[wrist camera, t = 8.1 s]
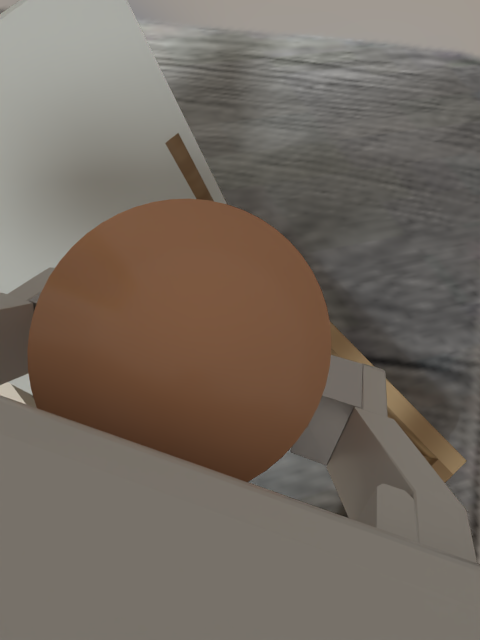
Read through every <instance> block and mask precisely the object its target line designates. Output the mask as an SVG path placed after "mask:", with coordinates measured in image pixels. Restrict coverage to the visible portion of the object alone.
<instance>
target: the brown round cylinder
mask: <svg viewBox="0 0 480 640" xmlns="http://www.w3.org/2000/svg"><path fill="white" fill-rule="evenodd" d="M27 355H28V373H29V379H30V386H31V391H32V394H33V397H34V400H35V404H36V407H37V408H38V409H41V410H44V411H46V412H49V413H52V414H55V415H58V416H61V417H64V418H66V419H69V420H72V421H75V422H78V423H81V424H83V425H86V426H89V427H92V428H95V429H98V430H101V431H103V432H106V433H109V434H112V435H115V436H118V437H120V438H123V439H126V440H129V441H132V442H135V443H138V444H140V445H143V446H146V447H149V448H152V449H155V450H158V451H160V452H163V453H166V454H169V455H172V456H175V457H177V458H180V459H183V460H186V461H189V462H191V463H194V464H197V465H200V466H203V467H206V468H208V469H211V470H214V471H217V472H220V473H223V474H225V475H228V476H231V477H234V478H237V479H239V480H242V481H245V482H248V481H250V480H252V479H253V478H255V477H256V476H258V475H260V474H261V473H263V472H264V471H266V470H267V469H268V468H270V467H271V466H272V465H273V464H274V463H276V462H277V461H278V460H279V459H280V458H282V457H283V456H284V454H285V453H286V452H287V451H288V450H289V449H290V448H291V447H292V446H293V445H294V444H295V443H296V441H297V440H298V439H299V437H300V436H301V434H302V433H303V432H304V430H305V429H306V427H307V426H308V424H309V423H310V421H311V419H312V417H313V415H314V413H315V411H316V409H317V407H318V405H319V403H320V400H321V397H322V394H323V391H324V389H325V386H326V382H327V377H328V372H329V367H330V358H331V327H330V321H329V315H328V310H327V305H326V302H325V300H324V297H323V294H322V291H321V288H320V286H319V284H318V282H317V280H316V278H315V275H314V273H313V271H312V270H311V268H310V267H309V265H308V264H307V262H306V261H305V259H304V258H303V256H302V255H301V254H300V252H299V251H298V250H297V249H296V248H295V247H294V246H293V245H292V243H291V242H290V241H289V240H288V239H287V238H285V237H284V236H283V235H282V234H281V233H280V232H279V231H277V230H276V229H275V228H274V227H272V226H271V225H269V224H268V223H266V222H265V221H263V220H262V219H260V218H258V217H256V216H254V215H252V214H250V213H248V212H246V211H244V210H242V209H239V208H236V207H233V206H230V205H227V204H223V203H219V202H214V201H209V200H200V199H169V200H163V201H156V202H151V203H148V204H144V205H140V206H137V207H134V208H131V209H129V210H126V211H124V212H122V213H119V214H117V215H115V216H113V217H112V218H110V219H108V220H106V221H104V222H102V223H101V224H99V225H98V226H97V227H95V228H94V229H92V230H91V231H90V232H88V233H87V234H86V235H85V236H83V237H82V238H81V239H80V240H79V241H78V242H77V243H76V244H75V245H74V246H72V248H71V249H70V250H69V251H68V252H67V253H66V255H65V256H64V257H63V258H62V259H61V260H60V262H59V263H58V264H57V266H56V267H55V269H54V270H53V272H52V273H51V275H50V276H49V278H48V280H47V282H46V284H45V286H44V288H43V290H42V292H41V294H40V296H39V299H38V302H37V304H36V307H35V310H34V313H33V317H32V322H31V326H30V330H29V339H28V349H27Z"/></svg>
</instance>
